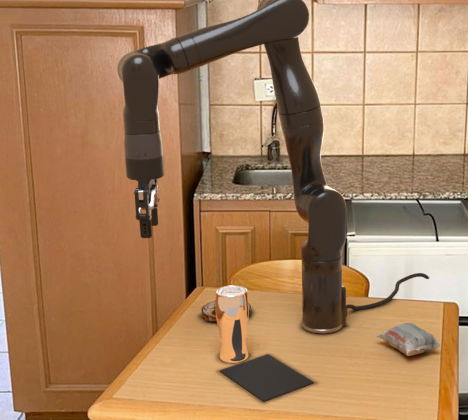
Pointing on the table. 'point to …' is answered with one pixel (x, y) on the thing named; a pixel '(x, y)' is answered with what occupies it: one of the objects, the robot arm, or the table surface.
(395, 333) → the packaged food
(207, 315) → the floral plate with food
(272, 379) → the mat
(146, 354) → the table surface
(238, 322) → the copper cup
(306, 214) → the robot arm
